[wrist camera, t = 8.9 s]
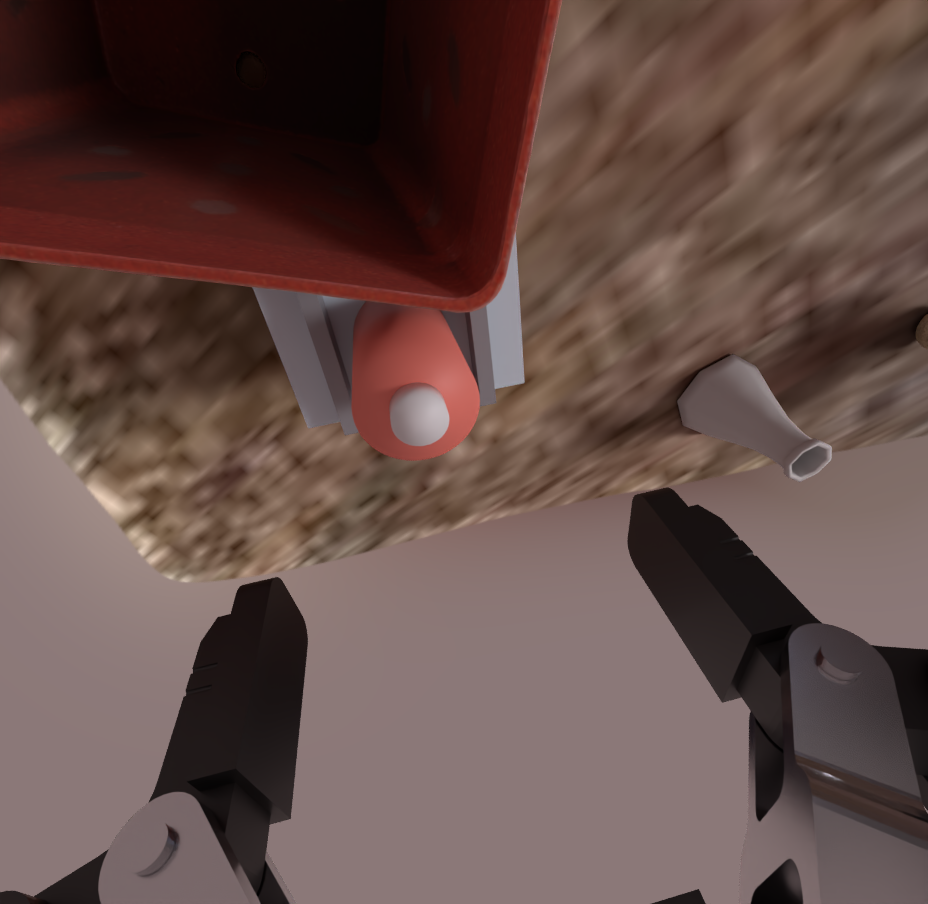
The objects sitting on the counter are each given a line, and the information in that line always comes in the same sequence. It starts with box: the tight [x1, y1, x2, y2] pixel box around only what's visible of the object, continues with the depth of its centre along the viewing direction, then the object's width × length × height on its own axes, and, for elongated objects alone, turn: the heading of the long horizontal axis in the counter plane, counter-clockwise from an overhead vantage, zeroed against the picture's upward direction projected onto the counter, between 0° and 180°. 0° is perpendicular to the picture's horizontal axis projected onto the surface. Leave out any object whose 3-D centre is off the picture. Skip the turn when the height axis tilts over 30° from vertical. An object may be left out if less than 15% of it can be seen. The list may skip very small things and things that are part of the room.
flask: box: [677, 354, 832, 482], centre depth 35 cm, size 7×7×10 cm
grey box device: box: [252, 232, 524, 435], centre depth 25 cm, size 8×12×10 cm, turn 98°
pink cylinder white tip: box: [351, 301, 480, 460], centre depth 19 cm, size 5×5×8 cm
